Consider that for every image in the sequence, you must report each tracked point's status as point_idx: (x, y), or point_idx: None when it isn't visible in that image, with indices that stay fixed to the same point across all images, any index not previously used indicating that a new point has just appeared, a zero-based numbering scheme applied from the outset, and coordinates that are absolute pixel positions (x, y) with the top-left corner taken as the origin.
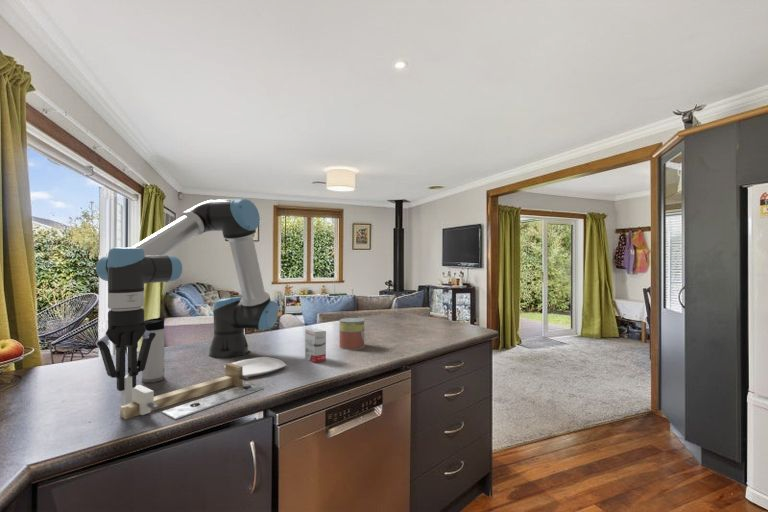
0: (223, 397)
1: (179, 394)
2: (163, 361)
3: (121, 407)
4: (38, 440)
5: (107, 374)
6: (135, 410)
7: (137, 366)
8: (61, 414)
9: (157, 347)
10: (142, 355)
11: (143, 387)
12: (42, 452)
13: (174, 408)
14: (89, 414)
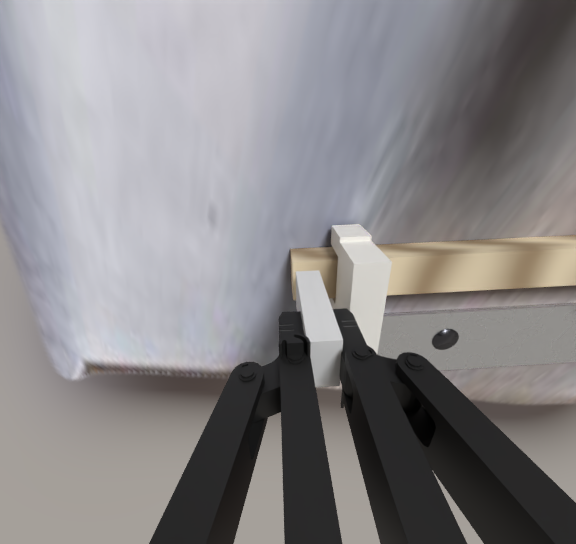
0: (517, 346)
1: (467, 288)
2: None
3: (292, 271)
4: (81, 248)
5: (231, 374)
6: None
7: (402, 390)
8: (124, 2)
9: None
10: (461, 500)
11: (377, 312)
12: (103, 329)
13: (403, 322)
14: (221, 131)
